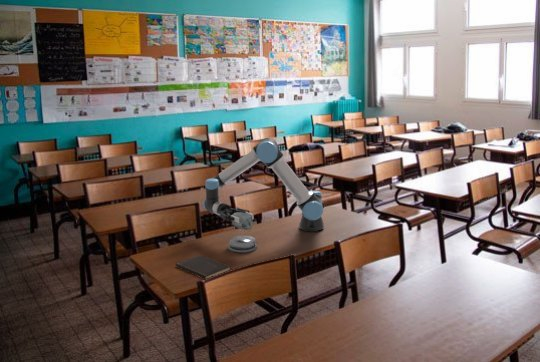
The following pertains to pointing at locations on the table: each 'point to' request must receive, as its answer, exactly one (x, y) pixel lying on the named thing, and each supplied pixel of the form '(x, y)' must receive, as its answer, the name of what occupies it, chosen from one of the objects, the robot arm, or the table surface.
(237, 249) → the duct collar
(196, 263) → the hardcover book
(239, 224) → the grey rounded block
